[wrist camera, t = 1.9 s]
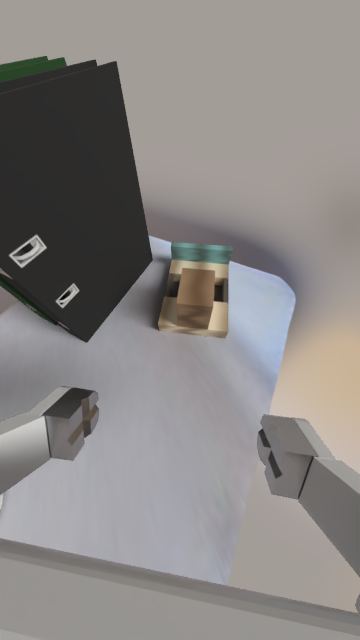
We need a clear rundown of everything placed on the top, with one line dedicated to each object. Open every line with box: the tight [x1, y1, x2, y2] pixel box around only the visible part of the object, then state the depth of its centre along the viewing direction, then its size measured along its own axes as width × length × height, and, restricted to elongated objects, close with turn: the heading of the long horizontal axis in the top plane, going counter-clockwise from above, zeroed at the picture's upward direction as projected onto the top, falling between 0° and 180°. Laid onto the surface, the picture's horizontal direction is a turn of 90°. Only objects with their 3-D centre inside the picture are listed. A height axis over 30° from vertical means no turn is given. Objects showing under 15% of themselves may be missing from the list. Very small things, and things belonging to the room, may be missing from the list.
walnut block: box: [176, 268, 215, 330], centre depth 36 cm, size 6×8×8 cm
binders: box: [0, 56, 153, 342], centre depth 33 cm, size 27×15×32 cm, turn 152°
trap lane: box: [158, 242, 232, 338], centre depth 42 cm, size 14×20×7 cm
